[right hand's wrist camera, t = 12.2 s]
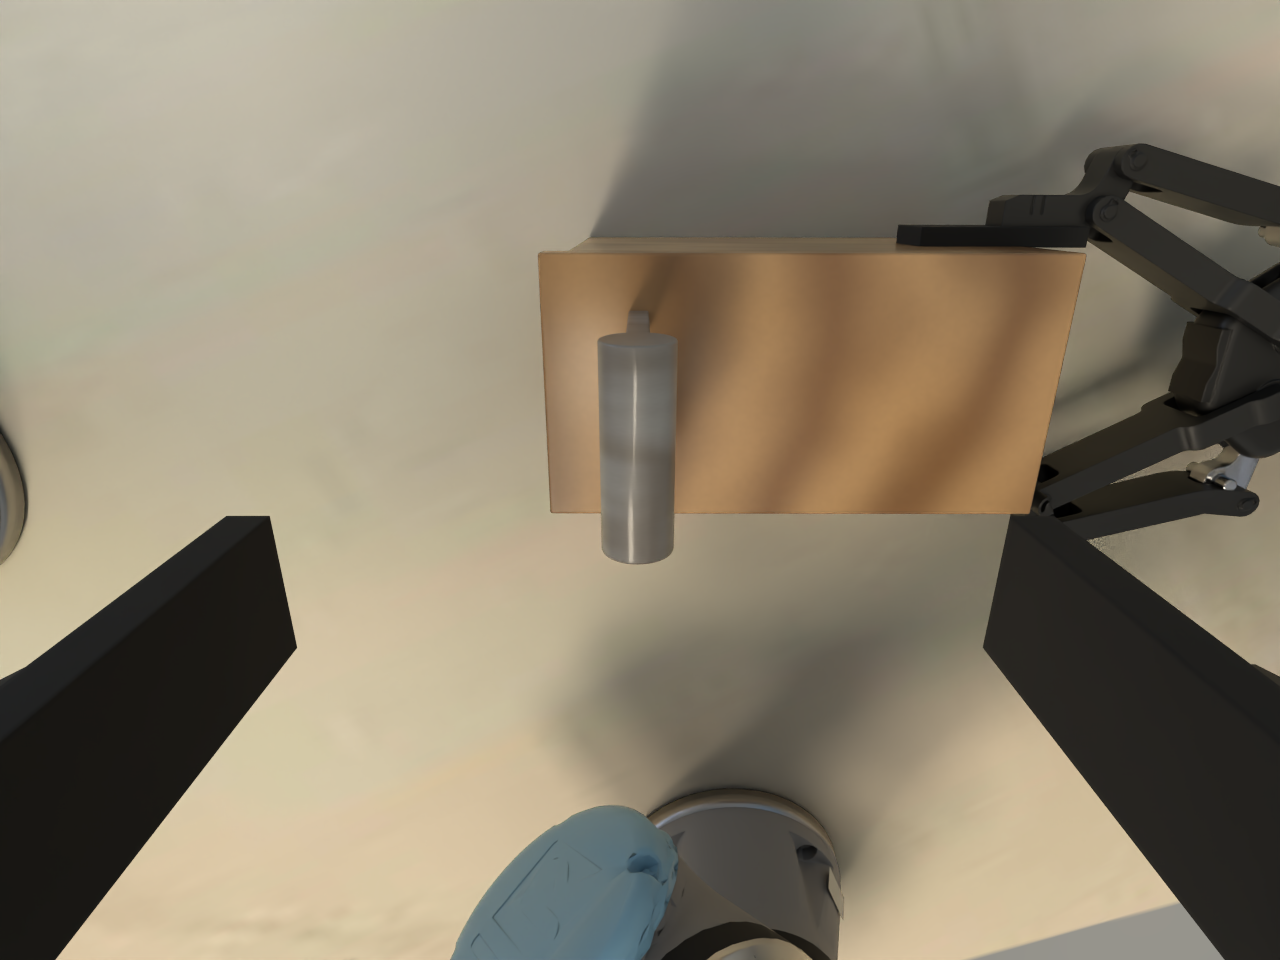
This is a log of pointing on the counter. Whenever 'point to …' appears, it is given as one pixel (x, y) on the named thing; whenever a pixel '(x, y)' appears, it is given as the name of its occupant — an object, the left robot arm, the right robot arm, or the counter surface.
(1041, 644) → the right robot arm
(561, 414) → the lid
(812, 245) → the chest
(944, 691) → the counter surface
